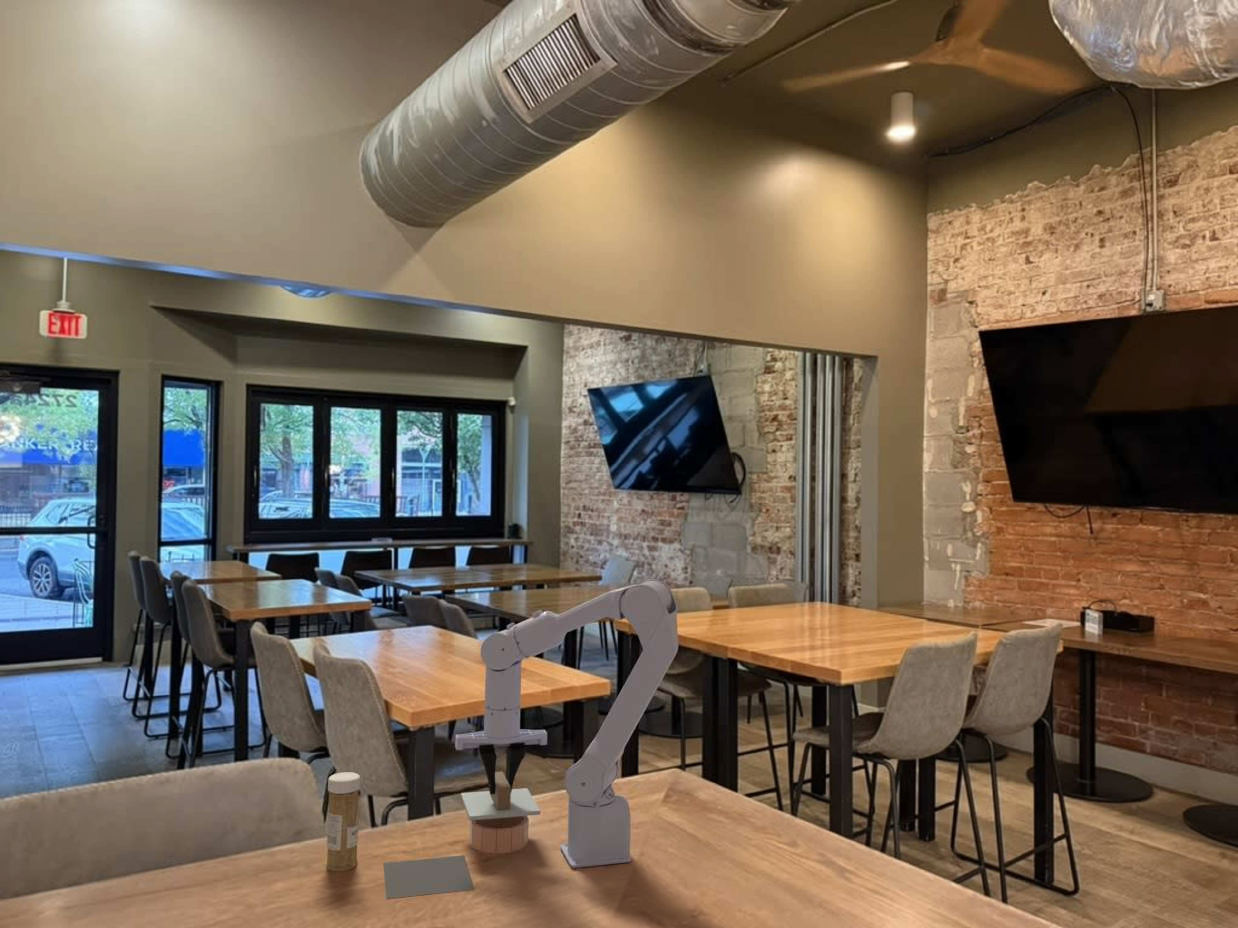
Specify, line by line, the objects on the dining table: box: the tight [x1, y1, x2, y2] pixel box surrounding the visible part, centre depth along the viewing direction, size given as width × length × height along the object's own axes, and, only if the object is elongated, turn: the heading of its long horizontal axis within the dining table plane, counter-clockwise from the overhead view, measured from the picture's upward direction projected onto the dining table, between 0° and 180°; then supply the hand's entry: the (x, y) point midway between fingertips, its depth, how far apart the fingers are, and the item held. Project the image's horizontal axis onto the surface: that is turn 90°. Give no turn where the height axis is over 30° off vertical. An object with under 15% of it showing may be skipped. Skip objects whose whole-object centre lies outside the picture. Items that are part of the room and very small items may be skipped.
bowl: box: [469, 816, 530, 855], centre depth 141 cm, size 9×9×4 cm
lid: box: [460, 771, 541, 821], centre depth 142 cm, size 11×11×4 cm
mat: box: [383, 854, 475, 900], centre depth 128 cm, size 12×12×1 cm
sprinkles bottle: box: [325, 771, 361, 872], centre depth 132 cm, size 5×5×13 cm
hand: (500, 791), depth 141 cm, fingers closed on lid, 2 cm apart
